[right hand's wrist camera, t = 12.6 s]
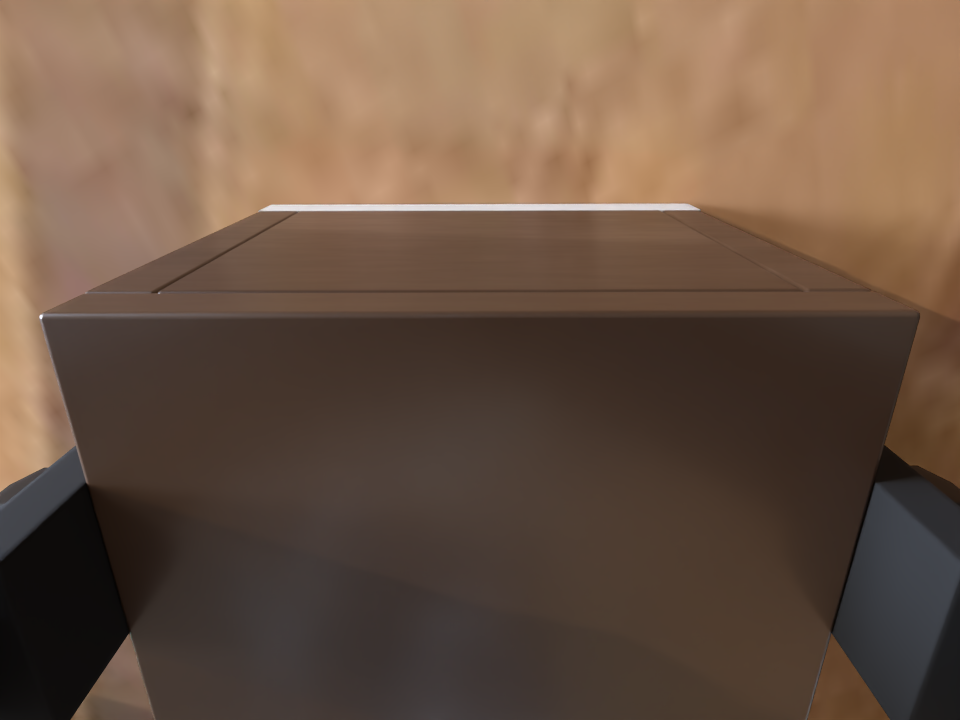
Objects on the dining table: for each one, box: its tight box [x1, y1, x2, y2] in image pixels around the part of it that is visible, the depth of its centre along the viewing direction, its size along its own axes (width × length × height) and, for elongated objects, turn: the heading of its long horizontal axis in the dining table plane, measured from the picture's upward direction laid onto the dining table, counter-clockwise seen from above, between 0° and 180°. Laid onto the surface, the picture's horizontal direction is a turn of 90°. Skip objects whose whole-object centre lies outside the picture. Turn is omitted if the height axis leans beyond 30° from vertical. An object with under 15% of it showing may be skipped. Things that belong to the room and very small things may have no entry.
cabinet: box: [40, 204, 920, 720], centre depth 14 cm, size 15×11×9 cm
